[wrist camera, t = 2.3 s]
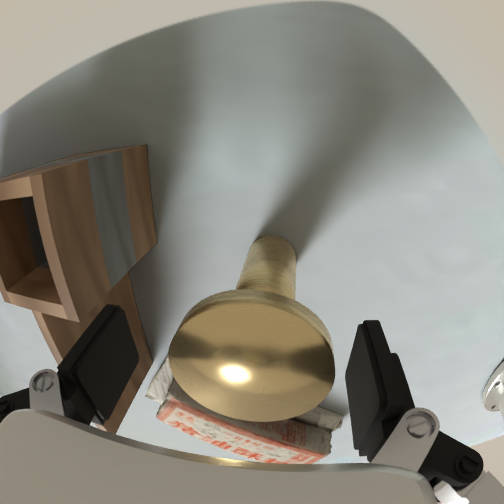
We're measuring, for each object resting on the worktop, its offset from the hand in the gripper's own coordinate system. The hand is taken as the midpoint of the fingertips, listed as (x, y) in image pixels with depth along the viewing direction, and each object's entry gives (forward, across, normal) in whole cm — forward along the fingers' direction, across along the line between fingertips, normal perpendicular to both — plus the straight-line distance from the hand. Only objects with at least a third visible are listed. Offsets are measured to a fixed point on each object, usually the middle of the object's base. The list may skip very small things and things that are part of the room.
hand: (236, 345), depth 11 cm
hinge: (+9, +16, +2) cm, 19 cm away
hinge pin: (+8, -1, 0) cm, 8 cm away
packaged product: (+9, +1, +17) cm, 19 cm away
